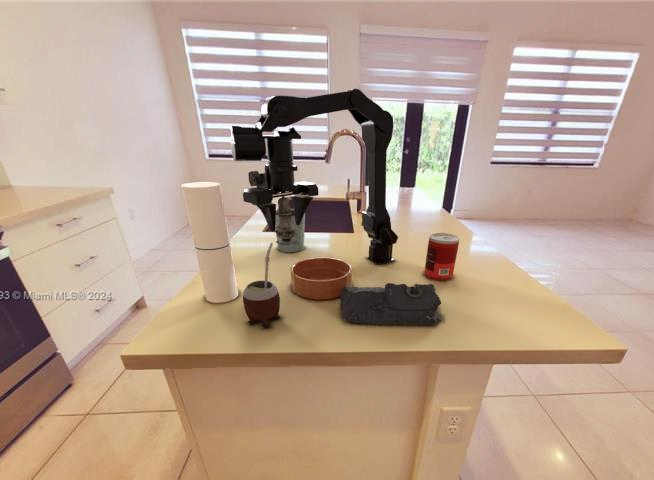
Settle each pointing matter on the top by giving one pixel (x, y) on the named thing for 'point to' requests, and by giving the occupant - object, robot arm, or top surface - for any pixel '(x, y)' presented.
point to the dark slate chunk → (391, 305)
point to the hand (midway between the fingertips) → (285, 227)
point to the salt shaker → (285, 223)
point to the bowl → (320, 277)
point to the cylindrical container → (211, 240)
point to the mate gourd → (262, 299)
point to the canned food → (441, 256)
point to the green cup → (298, 236)
